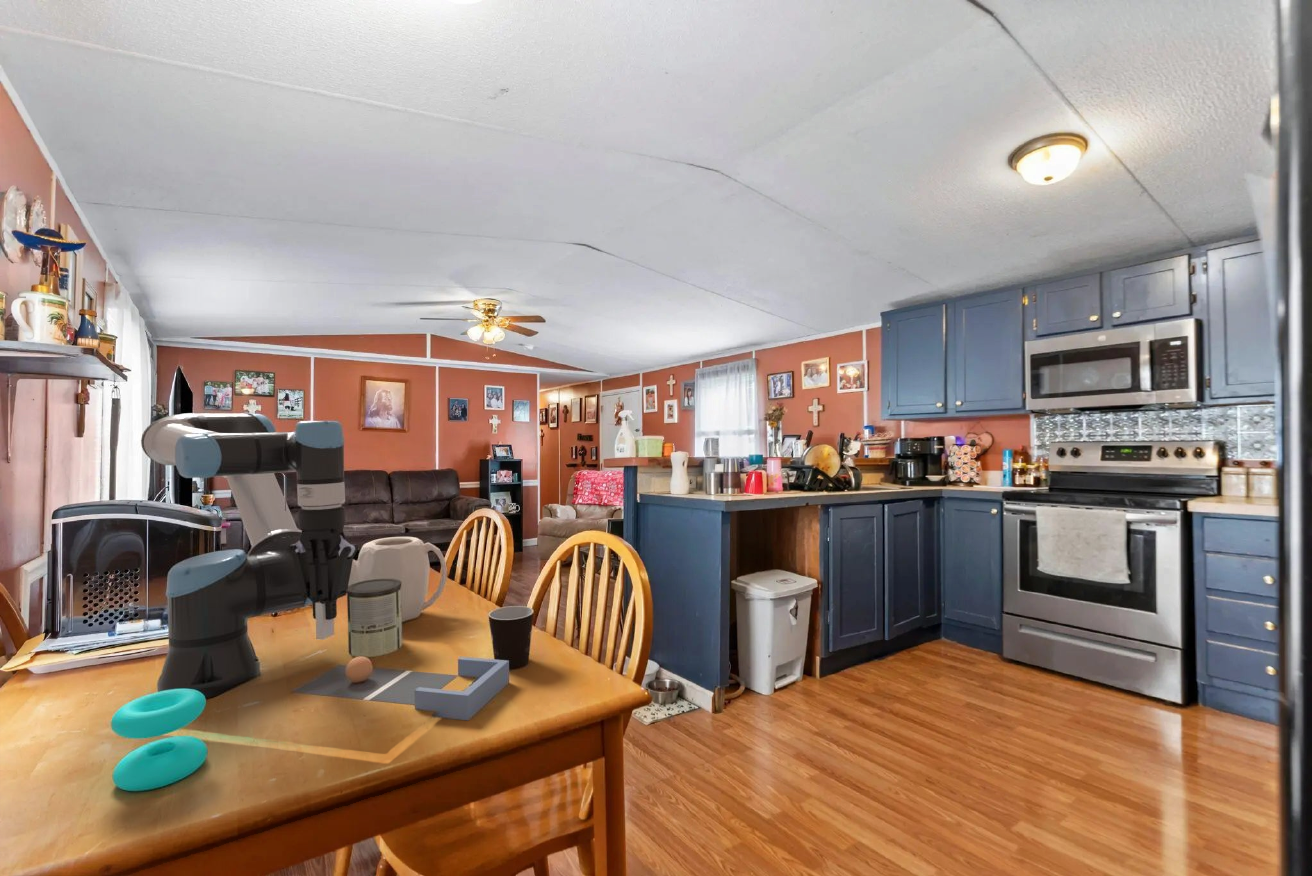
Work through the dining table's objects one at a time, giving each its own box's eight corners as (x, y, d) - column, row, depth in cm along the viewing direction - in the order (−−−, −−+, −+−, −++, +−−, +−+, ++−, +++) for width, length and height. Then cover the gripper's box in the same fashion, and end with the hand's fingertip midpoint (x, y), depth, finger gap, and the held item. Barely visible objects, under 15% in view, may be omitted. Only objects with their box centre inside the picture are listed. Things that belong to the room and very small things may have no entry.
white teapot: (340, 612, 154) (338, 537, 153) (451, 604, 159) (450, 532, 158) (319, 633, 138) (316, 549, 138) (443, 624, 144) (441, 544, 143)
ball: (339, 685, 108) (339, 661, 108) (357, 675, 113) (356, 651, 112) (361, 687, 107) (361, 662, 107) (378, 677, 112) (377, 653, 111)
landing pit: (414, 714, 99) (414, 690, 99) (461, 677, 113) (461, 656, 113) (468, 720, 97) (467, 695, 97) (509, 682, 111) (508, 660, 111)
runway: (290, 697, 106) (290, 691, 106) (340, 669, 118) (340, 664, 118) (419, 711, 101) (419, 705, 101) (458, 680, 112) (458, 675, 112)
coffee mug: (523, 673, 115) (522, 620, 115) (481, 670, 117) (480, 618, 117) (546, 650, 127) (546, 602, 126) (507, 648, 128) (507, 600, 128)
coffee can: (338, 654, 126) (337, 586, 125) (387, 640, 134) (386, 575, 133) (362, 666, 119) (360, 594, 119) (412, 651, 127) (411, 583, 127)
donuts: (223, 687, 87) (156, 721, 77) (225, 756, 88) (158, 799, 78) (163, 682, 89) (89, 715, 79) (165, 750, 89) (92, 792, 79)
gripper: (274, 508, 108) (278, 641, 109) (337, 509, 105) (341, 646, 106) (306, 503, 115) (310, 627, 116) (367, 504, 113) (370, 631, 113)
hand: (325, 636), depth 111 cm, fingers closed
